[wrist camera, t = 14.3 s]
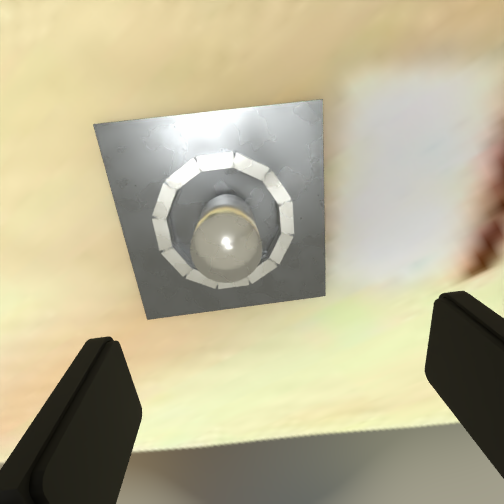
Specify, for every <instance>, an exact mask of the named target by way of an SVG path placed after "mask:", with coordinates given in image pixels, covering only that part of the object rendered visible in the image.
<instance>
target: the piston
mask: <svg viewBox="0 0 504 504" xmlns="http://www.w3.org/2000/svg"><path fill="white" fill-rule="evenodd" d="M190 254H191V258H192V261H193V263H194V265H195V267H196V268H197V269H198V271H199V272H200V273H201V274H203V275H204V276H205V277H207V278H208V279H211V280H213V281H216V282H221V283H232V282H236V281H240V280H242V279H244V278H246V277H247V276H249V275H250V274H251V273H252V272H253V271H254V270H255V269H256V268H257V266H258V264H259V262H260V260H261V256H262V242H261V239H260V236H259V232H258V229H257V226H256V223H255V219H254V216H253V213H252V210H251V208H250V207H249V205H248V204H247V203H246V202H245V201H244V200H243V199H241V198H239V197H237V196H235V195H229V194H224V195H219V196H216V197H214V198H212V199H211V200H210V201H208V202H207V203H206V205H205V206H204V208H203V210H202V212H201V215H200V218H199V220H198V223H197V226H196V229H195V232H194V234H193V237H192V240H191V245H190Z"/></svg>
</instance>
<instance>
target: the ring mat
mask: <svg viewBox="0 0 504 504" xmlns="http://www.w3.org/2000/svg"><path fill="white" fill-rule="evenodd" d="M93 126H94V129H95V133H96V137H97V140H98V144H99V147H100V151H101V155H102V158H103V162H104V165H105V169H106V173H107V176H108V180H109V183H110V187H111V191H112V194H113V198H114V201H115V205H116V209H117V212H118V216H119V219H120V223H121V227H122V230H123V234H124V237H125V241H126V245H127V248H128V252H129V255H130V259H131V263H132V266H133V270H134V273H135V277H136V281H137V284H138V288H139V291H140V295H141V299H142V302H143V306H144V309H145V313H146V317H147V320H149V319H156V318H164V317H171V316H179V315H186V314H194V313H201V312H209V311H216V310H224V309H231V308H239V307H246V306H254V305H261V304H269V303H276V302H284V301H291V300H299V299H306V298H314V297H321V296H325V228H324V157H323V99H320V100H311V101H301V102H292V103H283V104H274V105H265V106H256V107H247V108H238V109H228V110H219V111H210V112H201V113H192V114H183V115H174V116H165V117H155V118H146V119H137V120H128V121H119V122H110V123H101V124H93ZM224 194H229V195H235V196H237V197H239V198H241V199H243V200H244V201H245V202H246V203H247V204H248V205H249V207H250V208H251V210H252V213H253V216H254V219H255V223H256V226H257V229H258V232H259V236H260V239H261V242H262V256H261V260H260V262H259V264H258V266H257V268H256V269H255V270H254V271H253V272H252V273H251V274H250V275H249V276H247V277H246V278H244V279H242V280H240V281H236V282H232V283H221V282H216V281H213V280H211V279H208V278H207V277H205V276H204V275H203V274H201V273H200V272H199V271H198V269H197V268H196V267H195V265H194V263H193V261H192V258H191V254H190V245H191V240H192V237H193V234H194V232H195V229H196V226H197V223H198V220H199V218H200V215H201V212H202V210H203V208H204V206H205V205H206V203H207V202H208V201H210V200H211V199H212V198H214V197H216V196H219V195H224Z"/></svg>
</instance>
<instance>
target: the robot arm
mask: <svg viewBox="0 0 504 504" xmlns="http://www.w3.org/2000/svg"><path fill="white" fill-rule="evenodd" d="M425 374H426V377H427V379H428V381H429V383H430V384H431V385H432V386H433V388H434V389H435V390H436V392H437V393H438V394H439V396H440V397H441V398H442V399H443V401H444V402H445V403H446V405H447V406H448V407H449V408H450V410H451V411H452V412H453V414H454V415H455V416H456V418H457V419H458V420H459V421H460V423H461V424H462V425H463V426H464V428H465V429H466V431H467V432H468V433H469V434H470V436H471V437H472V438H473V440H474V441H475V442H476V443H477V445H478V446H479V447H480V449H481V450H482V451H483V453H484V454H485V455H486V456H487V458H488V459H489V460H490V462H491V463H492V464H493V465H494V467H495V468H496V469H497V471H498V472H499V473H500V474H501V476H502V477H503V478H504V318H502V317H501V316H500V315H498V314H497V313H495V312H494V311H492V310H491V309H490V308H488V307H487V306H485V305H484V304H483V303H481V302H480V301H478V300H477V299H475V298H474V297H473V296H471V295H470V294H468V293H467V292H465V291H457V292H449V293H443V294H441V295H440V296H439V299H437V300H435V302H434V307H433V314H432V321H431V328H430V335H429V342H428V349H427V356H426V363H425ZM141 419H142V407H141V404H140V401H139V398H138V395H137V392H136V389H135V386H134V383H133V381H132V378H131V375H130V372H129V369H128V366H127V363H126V360H125V357H124V354H123V351H122V349H121V346H120V343H119V342H118V341H114V340H113V339H112V338H111V337H101V338H94V339H89V340H88V341H87V342H86V343H85V344H84V346H83V347H82V349H81V350H80V352H79V353H78V355H77V356H76V358H75V359H74V361H73V362H72V364H71V365H70V367H69V368H68V370H67V371H66V373H65V374H64V376H63V377H62V379H61V380H60V382H59V383H58V385H57V386H56V388H55V389H54V391H53V392H52V394H51V395H50V397H49V398H48V400H47V401H46V403H45V404H44V405H43V407H42V408H41V410H40V411H39V413H38V414H37V416H36V417H35V419H34V420H33V422H32V423H31V425H30V426H29V428H28V429H27V431H26V432H25V434H24V435H23V437H22V438H21V440H20V441H19V443H18V444H17V446H16V447H15V449H14V450H13V452H12V453H11V455H10V456H9V458H8V459H7V461H6V462H5V464H4V465H3V467H2V468H1V470H0V504H116V502H117V498H118V495H119V492H120V488H121V485H122V482H123V479H124V475H125V472H126V469H127V465H128V462H129V458H130V456H131V452H132V449H133V446H134V443H135V439H136V436H137V433H138V429H139V426H140V423H141Z"/></svg>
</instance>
